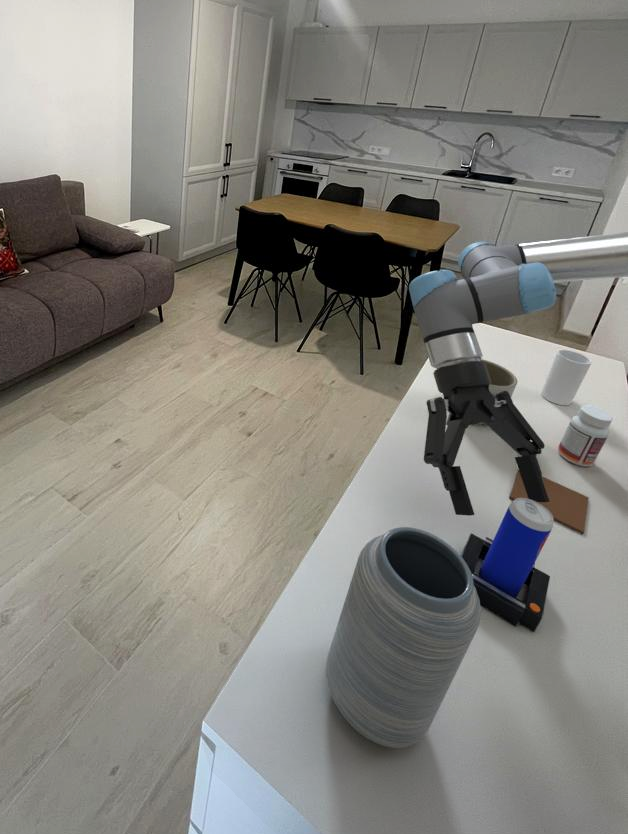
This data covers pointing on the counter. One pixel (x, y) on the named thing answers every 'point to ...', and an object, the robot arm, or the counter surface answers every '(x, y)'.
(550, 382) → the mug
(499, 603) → the frame
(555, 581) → the counter surface
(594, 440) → the pill bottle
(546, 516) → the beverage can
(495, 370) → the planter
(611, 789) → the counter surface
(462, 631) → the vase
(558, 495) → the cork mat
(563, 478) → the counter surface
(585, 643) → the counter surface
